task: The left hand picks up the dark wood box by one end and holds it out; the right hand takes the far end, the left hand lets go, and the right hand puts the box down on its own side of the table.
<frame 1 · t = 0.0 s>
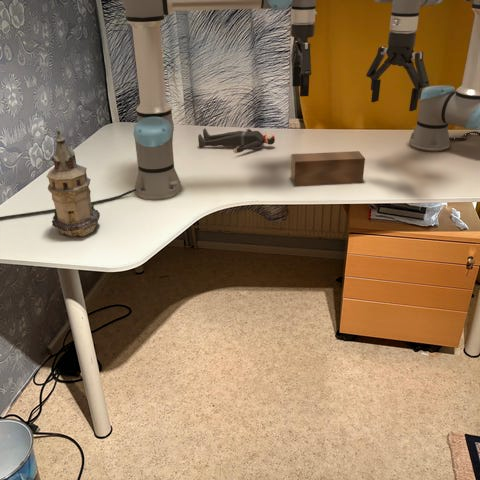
left hand: (300, 91, 180), 28 cm above the table, tool pointing down, fingers open, 13 cm apart
right hand: (393, 105, 163), 28 cm above the table, tool pointing down, fingers open, 13 cm apart
miniature building: (78, 229, 156), on the table
box: (326, 180, 184), on the table
toy: (237, 146, 215), on the table
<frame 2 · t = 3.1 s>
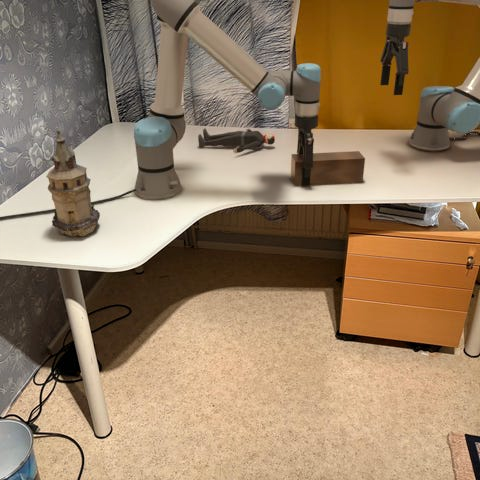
left hand: (303, 180, 183), 0 cm above the table, tool pointing down, fingers closed on box, 7 cm apart
right hand: (390, 89, 182), 27 cm above the table, tool pointing down, fingers open, 13 cm apart
box: (326, 180, 184), on the table, touching left hand
everything else where it was.
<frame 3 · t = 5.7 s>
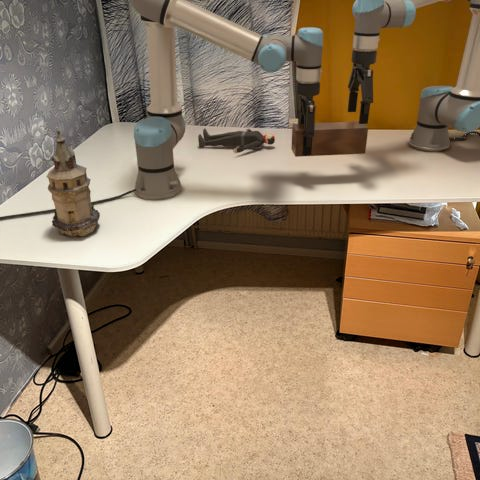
left hand: (304, 151, 178), 11 cm above the table, tool pointing down, fingers closed on box, 7 cm apart
right hand: (357, 117, 175), 21 cm above the table, tool pointing down, fingers open, 13 cm apart
box: (327, 151, 179), point 10 cm above the table, touching left hand
everything else where it was.
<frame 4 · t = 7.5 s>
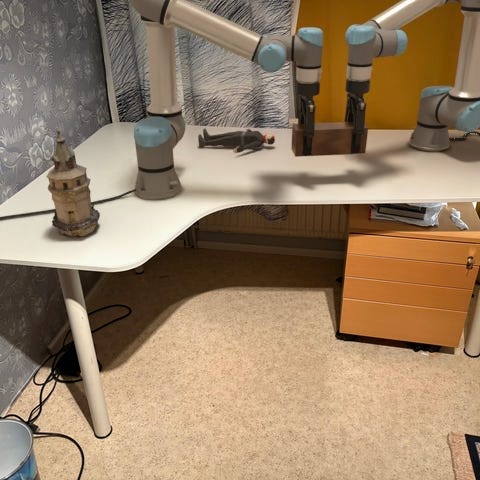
left hand: (304, 151, 178), 11 cm above the table, tool pointing down, fingers closed on box, 7 cm apart
right hand: (351, 148, 179), 11 cm above the table, tool pointing down, fingers closed on box, 7 cm apart
box: (327, 151, 179), point 10 cm above the table, touching left hand, right hand
everything else where it was.
when the left hand's fingers open (11 cm above the table, at t = 8.5 s): box stays where it is, held by the right hand.
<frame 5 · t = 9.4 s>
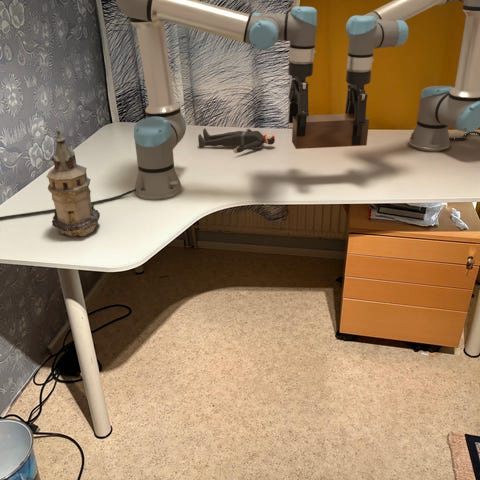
left hand: (296, 129, 174), 19 cm above the table, tool pointing down, fingers open, 13 cm apart
right hand: (352, 140, 178), 14 cm above the table, tool pointing down, fingers closed on box, 7 cm apart
box: (328, 143, 178), point 13 cm above the table, touching right hand
everything else where it was.
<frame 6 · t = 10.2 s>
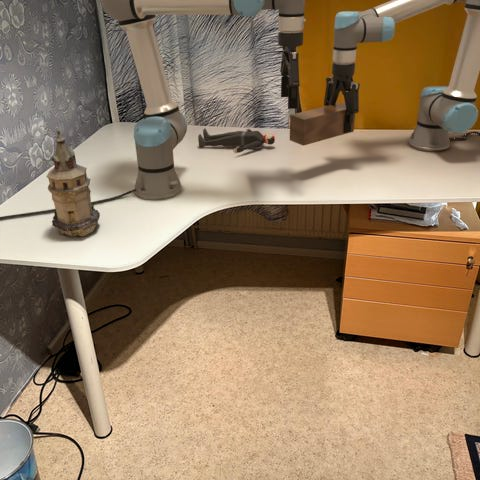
left hand: (288, 102, 170), 27 cm above the table, tool pointing down, fingers open, 13 cm apart
right hand: (339, 129, 189), 14 cm above the table, tool pointing down, fingers closed on box, 7 cm apart
box: (322, 135, 185), point 13 cm above the table, touching right hand
everything else where it was.
when the right hand's fingers open (2 cm above the table, at t = 13.1 s): box drops 1 cm, on the table.
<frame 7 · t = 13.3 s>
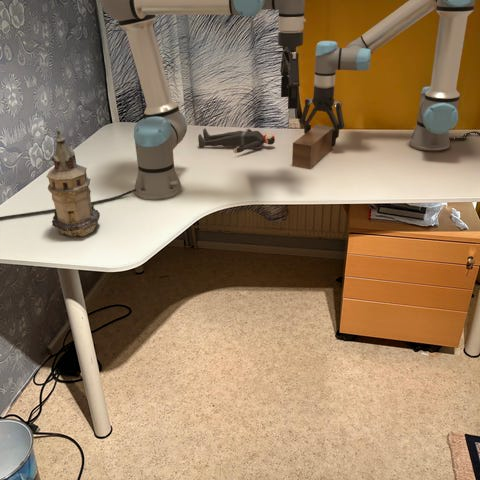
left hand: (288, 102, 170), 27 cm above the table, tool pointing down, fingers open, 13 cm apart
right hand: (320, 143, 209), 3 cm above the table, tool pointing down, fingers open, 10 cm apart
box: (312, 157, 204), on the table
everything else where it was.
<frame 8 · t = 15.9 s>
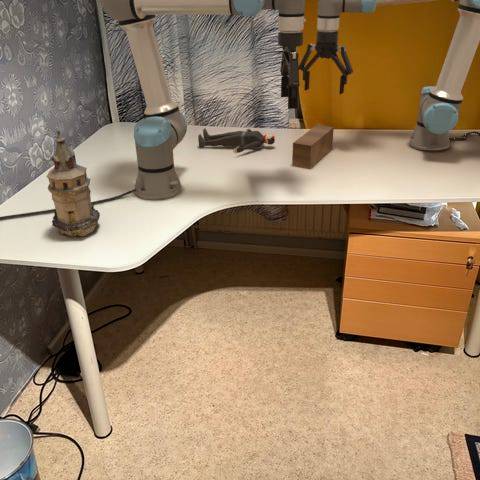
left hand: (288, 102, 170), 27 cm above the table, tool pointing down, fingers open, 13 cm apart
right hand: (323, 91, 199), 23 cm above the table, tool pointing down, fingers open, 13 cm apart
nothing on the table moved.
at the end: box inside the target area (7.9 cm from its centre), on the table; the left hand is holding nothing; the right hand is holding nothing; box at rest at the end (0.0 cm/s) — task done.
